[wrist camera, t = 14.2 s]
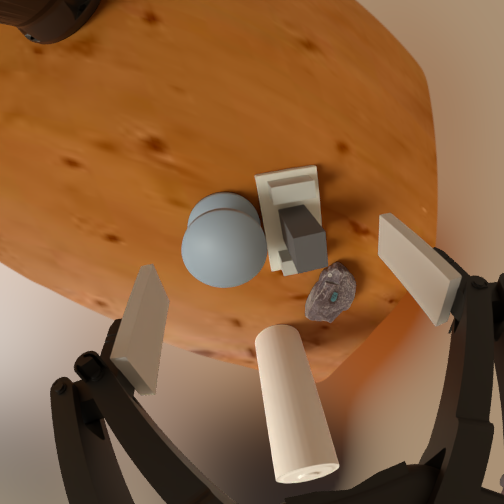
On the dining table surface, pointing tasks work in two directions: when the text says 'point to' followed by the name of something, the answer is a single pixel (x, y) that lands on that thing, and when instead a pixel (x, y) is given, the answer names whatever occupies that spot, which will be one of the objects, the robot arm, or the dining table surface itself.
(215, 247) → the spool
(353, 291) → the rock
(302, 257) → the gray rectangular block
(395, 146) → the dining table surface
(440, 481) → the robot arm
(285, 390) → the cylinder container
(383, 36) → the dining table surface
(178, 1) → the dining table surface
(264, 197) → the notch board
